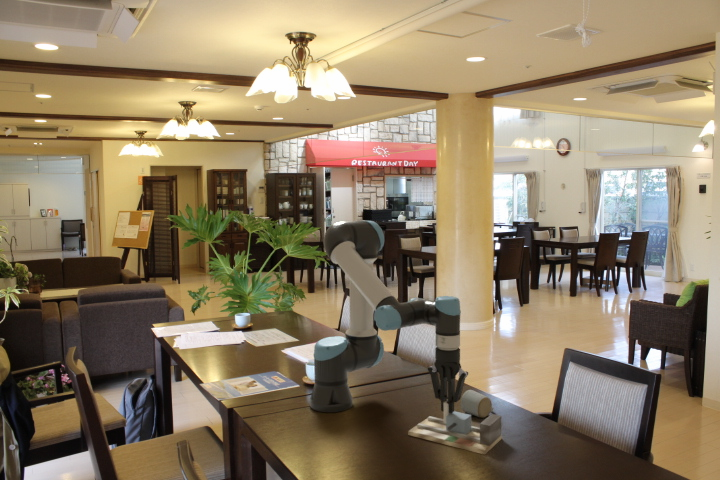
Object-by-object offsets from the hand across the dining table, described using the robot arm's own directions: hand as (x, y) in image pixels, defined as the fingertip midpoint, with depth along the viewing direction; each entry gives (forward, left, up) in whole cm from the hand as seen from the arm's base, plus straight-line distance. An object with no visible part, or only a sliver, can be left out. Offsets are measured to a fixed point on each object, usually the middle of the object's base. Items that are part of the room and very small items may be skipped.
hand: (447, 422), depth 179 cm
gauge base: (+3, -1, -3) cm, 5 cm away
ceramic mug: (+2, +20, -4) cm, 21 cm away
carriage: (+4, -2, -2) cm, 5 cm away
